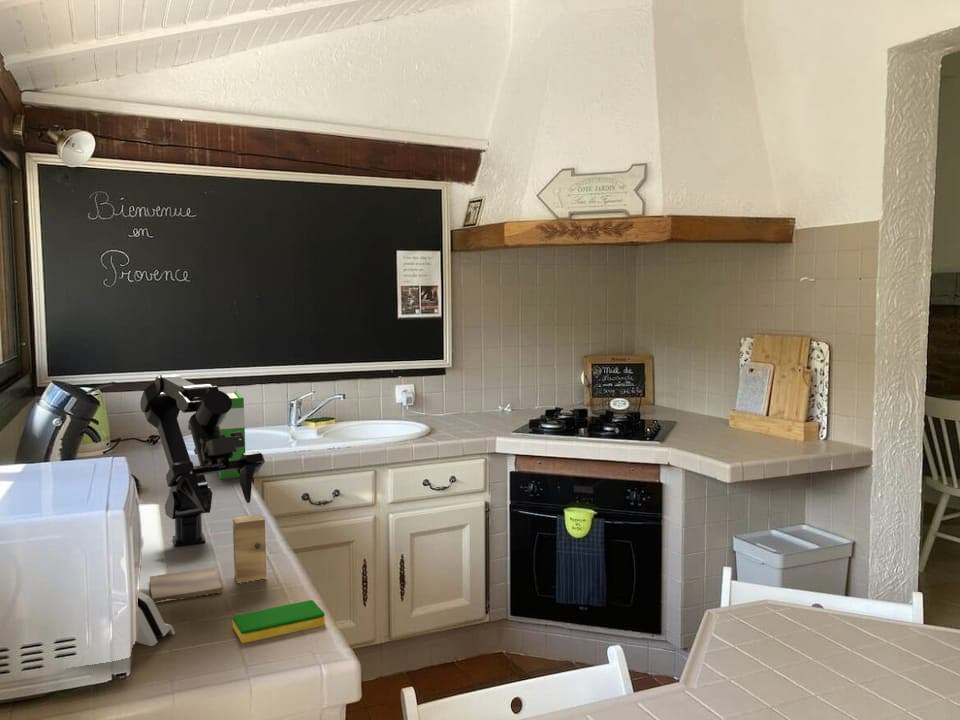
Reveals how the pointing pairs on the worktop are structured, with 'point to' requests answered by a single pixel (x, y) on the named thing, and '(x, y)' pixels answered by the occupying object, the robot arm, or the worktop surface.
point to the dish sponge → (278, 621)
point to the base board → (185, 584)
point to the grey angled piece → (150, 621)
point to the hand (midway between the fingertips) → (226, 506)
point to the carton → (234, 429)
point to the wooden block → (249, 548)
